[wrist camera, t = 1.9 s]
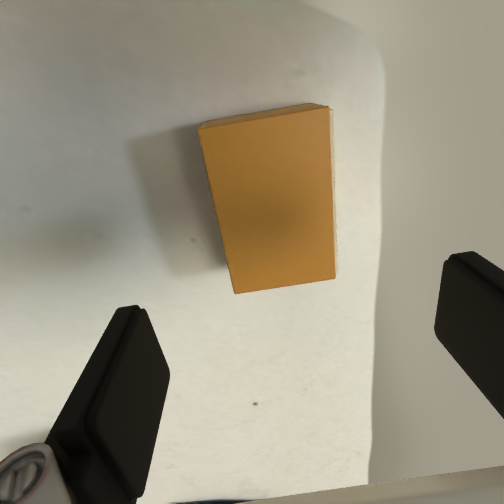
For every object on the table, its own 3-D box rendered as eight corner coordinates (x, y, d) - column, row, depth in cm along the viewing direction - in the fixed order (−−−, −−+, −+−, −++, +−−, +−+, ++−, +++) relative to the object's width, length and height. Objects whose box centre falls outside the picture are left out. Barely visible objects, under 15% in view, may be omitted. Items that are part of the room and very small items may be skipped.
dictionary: (204, 121, 19) (196, 129, 15) (315, 101, 18) (333, 105, 15) (234, 263, 23) (234, 294, 20) (323, 249, 23) (339, 278, 20)
